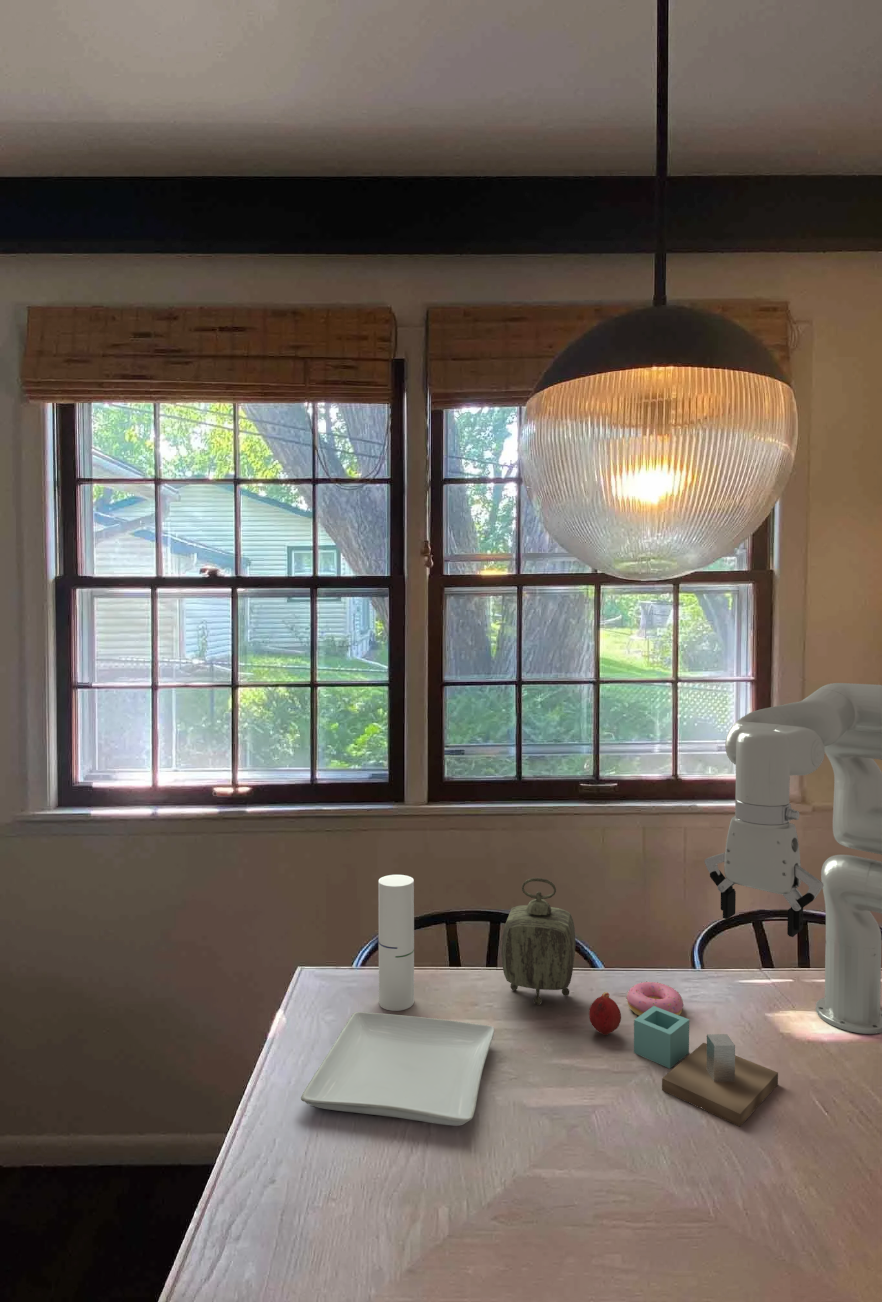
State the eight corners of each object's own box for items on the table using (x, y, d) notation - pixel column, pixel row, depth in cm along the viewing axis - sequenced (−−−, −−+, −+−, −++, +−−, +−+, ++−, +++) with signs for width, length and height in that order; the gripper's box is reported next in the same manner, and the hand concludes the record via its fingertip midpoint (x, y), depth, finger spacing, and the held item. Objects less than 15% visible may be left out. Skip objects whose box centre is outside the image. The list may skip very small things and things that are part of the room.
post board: (703, 1053, 135) (703, 1009, 135) (777, 1084, 126) (778, 1037, 126) (661, 1090, 125) (662, 1042, 124) (740, 1126, 116) (740, 1075, 115)
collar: (653, 1037, 141) (653, 1005, 140) (688, 1052, 136) (689, 1019, 135) (633, 1052, 136) (634, 1019, 135) (669, 1068, 131) (670, 1034, 131)
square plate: (353, 1028, 145) (353, 1008, 145) (495, 1044, 139) (495, 1023, 139) (298, 1118, 118) (298, 1094, 118) (471, 1143, 113) (471, 1117, 112)
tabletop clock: (575, 993, 158) (575, 874, 157) (572, 1014, 149) (573, 889, 148) (506, 985, 161) (506, 869, 160) (499, 1006, 152) (500, 883, 151)
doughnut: (616, 1012, 150) (616, 991, 150) (641, 992, 159) (641, 972, 158) (669, 1031, 143) (669, 1010, 143) (692, 1009, 151) (692, 988, 151)
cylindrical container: (383, 992, 158) (382, 873, 157) (416, 994, 157) (416, 875, 156) (375, 1009, 151) (374, 885, 150) (410, 1012, 150) (410, 887, 149)
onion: (607, 1047, 138) (608, 1003, 137) (582, 1034, 142) (582, 992, 142) (626, 1035, 141) (627, 993, 141) (601, 1023, 146) (601, 982, 145)
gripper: (831, 818, 111) (829, 934, 111) (716, 799, 123) (715, 904, 123) (814, 828, 105) (812, 949, 106) (695, 807, 117) (694, 916, 118)
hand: (760, 925), depth 115 cm, fingers open, 9 cm apart
